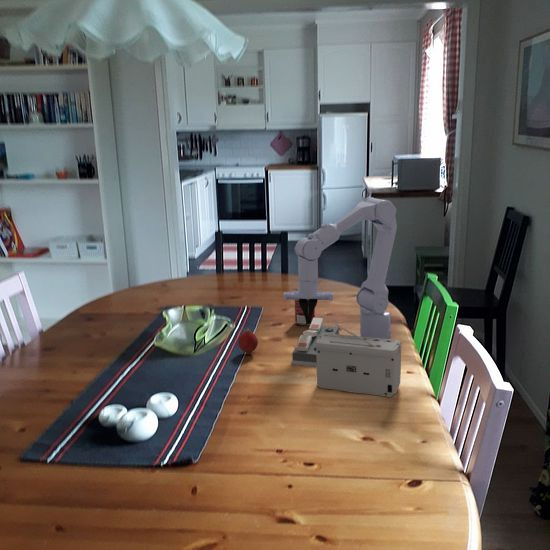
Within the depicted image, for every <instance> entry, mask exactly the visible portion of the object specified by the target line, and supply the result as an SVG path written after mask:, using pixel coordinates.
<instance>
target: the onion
mask: <svg viewBox="0 0 550 550" xmlns="http://www.w3.org/2000/svg"><path fill="white" fill-rule="evenodd" d="M237 344H238V348H239V349H240V350H241V351H242V352H244V353H245V354H247V355H251V354H252V353H253V352H254V351H255V350H256V349H257V348H258V347H257V346H258V345H259V340H258V338H257V336H256V335H255V334H254V333H253V332H252V331H251V330H250V328H247V329H246V330H245V331H243V332H242V333H241V335H240V336H239V338H238V341H237Z"/></svg>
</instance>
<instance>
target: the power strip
mask: <svg viewBox="0 0 550 550" xmlns="http://www.w3.org/2000/svg"><path fill="white" fill-rule="evenodd" d="M307 330H309V328H308V329H307ZM322 333H330V334H340V335H341V332H340V327H338V326H336V325H335V326H334V325H323V324H322V326H321V329H320V332H318V335H316V336H314V337H312V340H311V343H310V345H309V348H308V351H298V350H296V347H295V348H294V349H293V351H292V354H291V355H292V356H291V357H292V360H291V362H290V364H291V365H293V366H303V367H314V368H317V357H316V341H317V339H318V337H319V336H320V335H321V334H322Z"/></svg>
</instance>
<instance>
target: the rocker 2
mask: <svg viewBox="0 0 550 550" xmlns="http://www.w3.org/2000/svg"><path fill="white" fill-rule="evenodd" d="M323 323H324V317H315V318H313V320H312V322H311V325H309V328H308V329H309V330H311V331H318V332H320V329H321V326H322V325H323Z"/></svg>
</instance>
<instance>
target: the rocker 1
mask: <svg viewBox="0 0 550 550" xmlns="http://www.w3.org/2000/svg"><path fill="white" fill-rule="evenodd" d="M311 340H312V336H309V335H303V334H301V335H300V336H299V339H298V342H297V344H296V346H295V348H296V350H298V351H308V348H309V345H310V343H311Z"/></svg>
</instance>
